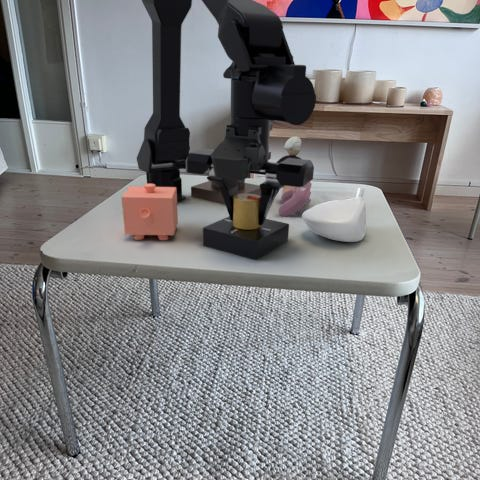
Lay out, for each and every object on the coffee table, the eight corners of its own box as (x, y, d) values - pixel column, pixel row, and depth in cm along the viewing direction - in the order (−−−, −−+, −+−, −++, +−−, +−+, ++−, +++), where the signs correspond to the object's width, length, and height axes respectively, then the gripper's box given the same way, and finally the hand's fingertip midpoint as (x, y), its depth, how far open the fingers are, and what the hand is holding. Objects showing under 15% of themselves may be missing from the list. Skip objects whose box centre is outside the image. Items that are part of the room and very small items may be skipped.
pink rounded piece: (297, 225, 90) (317, 193, 87) (276, 214, 89) (295, 181, 86) (298, 210, 99) (316, 181, 95) (279, 199, 98) (297, 169, 95)
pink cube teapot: (121, 247, 74) (116, 195, 70) (135, 223, 84) (131, 175, 80) (172, 248, 74) (169, 196, 70) (179, 224, 85) (177, 176, 81)
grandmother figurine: (309, 201, 98) (316, 136, 92) (304, 206, 95) (310, 139, 89) (274, 196, 101) (278, 133, 94) (268, 201, 98) (271, 136, 91)
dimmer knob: (227, 226, 75) (228, 195, 73) (242, 219, 78) (243, 190, 76) (251, 231, 73) (252, 200, 71) (265, 224, 76) (267, 194, 74)
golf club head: (391, 186, 79) (346, 164, 72) (381, 249, 80) (336, 234, 72) (341, 192, 87) (296, 173, 80) (332, 250, 88) (287, 236, 80)
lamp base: (191, 197, 100) (190, 177, 98) (218, 187, 107) (218, 169, 105) (238, 207, 94) (239, 187, 92) (264, 196, 102) (265, 177, 100)
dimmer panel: (203, 245, 76) (202, 226, 74) (237, 229, 83) (237, 211, 82) (256, 260, 71) (257, 240, 70) (288, 241, 78) (289, 222, 77)
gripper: (164, 117, 64) (169, 228, 72) (296, 128, 58) (286, 249, 66) (201, 109, 73) (203, 209, 81) (319, 118, 67) (309, 225, 75)
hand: (246, 222), depth 75 cm, fingers closed on dimmer knob, 4 cm apart
